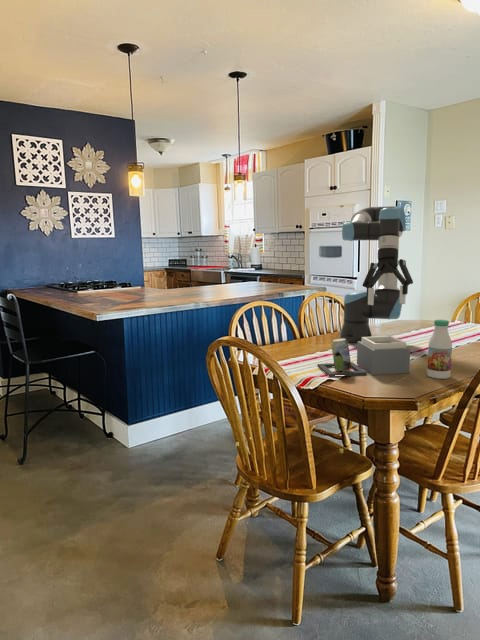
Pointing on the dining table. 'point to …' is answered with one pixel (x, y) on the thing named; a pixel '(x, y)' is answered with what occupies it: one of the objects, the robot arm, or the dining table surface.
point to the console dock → (383, 355)
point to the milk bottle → (439, 351)
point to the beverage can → (341, 354)
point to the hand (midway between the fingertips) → (386, 304)
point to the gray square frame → (351, 373)
